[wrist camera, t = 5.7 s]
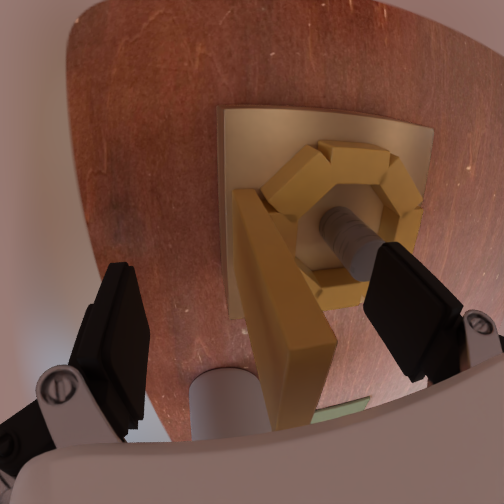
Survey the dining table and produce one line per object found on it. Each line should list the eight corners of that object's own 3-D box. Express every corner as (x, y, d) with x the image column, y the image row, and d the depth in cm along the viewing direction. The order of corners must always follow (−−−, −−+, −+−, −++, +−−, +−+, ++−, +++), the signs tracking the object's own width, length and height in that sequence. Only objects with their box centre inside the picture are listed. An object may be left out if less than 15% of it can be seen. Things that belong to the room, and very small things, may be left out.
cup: (182, 370, 25) (186, 458, 18) (289, 356, 27) (318, 438, 19) (194, 408, 29) (201, 481, 21) (285, 396, 30) (306, 465, 23)
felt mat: (215, 465, 39) (215, 467, 39) (203, 426, 31) (204, 429, 31) (341, 442, 43) (342, 444, 42) (369, 396, 35) (370, 398, 34)
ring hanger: (234, 301, 16) (269, 463, 8) (231, 138, 12) (302, 239, 4) (385, 283, 17) (468, 393, 10) (415, 148, 13) (559, 225, 5)
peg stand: (221, 271, 21) (238, 370, 13) (216, 105, 15) (234, 113, 8) (363, 258, 22) (424, 332, 15) (385, 116, 17) (483, 145, 10)
